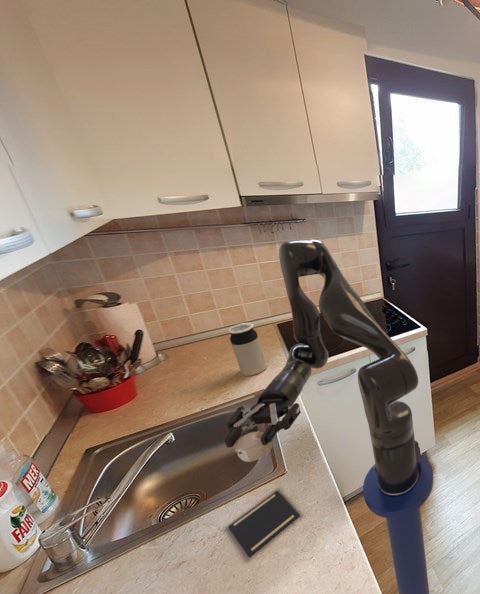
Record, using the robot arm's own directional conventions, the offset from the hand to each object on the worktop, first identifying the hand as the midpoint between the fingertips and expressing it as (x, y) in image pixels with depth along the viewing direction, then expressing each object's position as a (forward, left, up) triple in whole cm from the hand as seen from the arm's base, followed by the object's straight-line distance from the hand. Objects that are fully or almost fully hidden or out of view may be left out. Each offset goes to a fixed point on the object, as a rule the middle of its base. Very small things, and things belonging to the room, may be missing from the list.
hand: (245, 443), depth 68 cm
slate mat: (+3, +5, -18) cm, 18 cm away
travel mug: (-21, -58, -18) cm, 65 cm away
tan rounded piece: (-2, -2, -6) cm, 7 cm away
